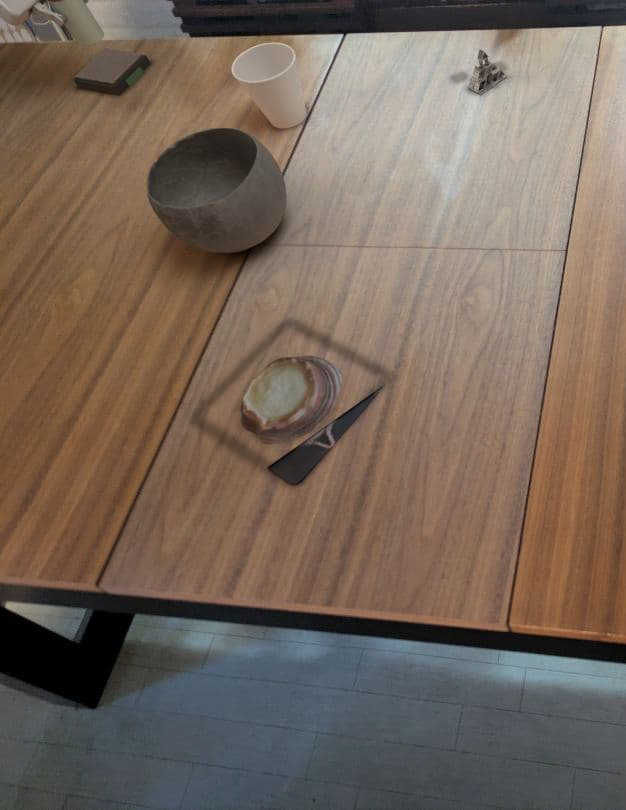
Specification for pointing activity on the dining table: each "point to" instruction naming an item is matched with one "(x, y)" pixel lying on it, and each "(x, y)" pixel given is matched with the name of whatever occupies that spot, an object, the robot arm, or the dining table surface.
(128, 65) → the scale
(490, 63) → the stone castle ruin model
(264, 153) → the bowl
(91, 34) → the jar
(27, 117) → the dining table surface
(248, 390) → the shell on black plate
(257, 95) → the cup
